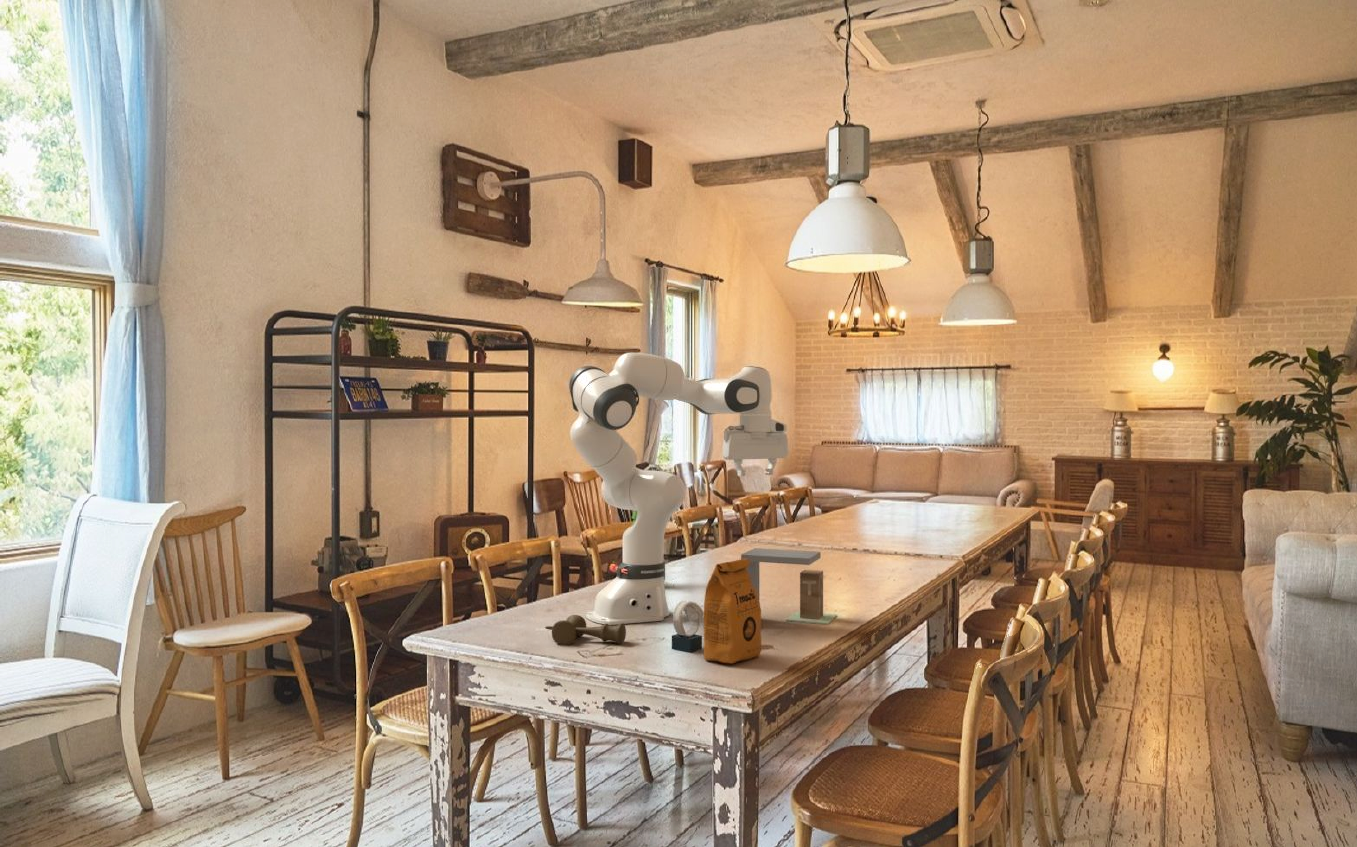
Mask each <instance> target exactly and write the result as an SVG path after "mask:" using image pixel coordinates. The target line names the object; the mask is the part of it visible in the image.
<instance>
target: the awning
mask: <svg viewBox="0 0 1357 847" xmlns="http://www.w3.org/2000/svg"><path fill="white" fill-rule="evenodd" d="M745 558H748V560H749V562H750V565H749V566H748V567H746V570H747V571H748V574H749V577H750V581H751V583H752V585H753V586H754V588H755V590H756V593H757V596H758V598H759V599H760V563H769V564H771V563H772V564H786V565H787V564H788V565H803V566H804V565H805V566H810V565H811V564H813V563H815V562H817V561H818V560H819V559H821V551H817V550H816V551H814V550H797V549H796V550H795V549H782V548H781V549H778V548H776V549H775V548H760V547H754V548H752V549H750V550H748V551H745V552H744V553H741V554H740V559H745Z"/></svg>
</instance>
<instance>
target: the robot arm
mask: <svg viewBox="0 0 1357 847" xmlns="http://www.w3.org/2000/svg"><path fill="white" fill-rule="evenodd" d="M568 390H569V395H570V397H571V404H572V408H573V410H574V411H575V412H577V413H578V417H577V418H576V420H575V421H574V422H572V425H571V427H570V430H569V436H570V440H571V442H572V444H573V445H574V447H575V449H576V450H577V452H578V453H579V454H580V456H581V457H582V458H583V459H584V461H585V462H586V463H587V464H588V466H590V467H591V468H592V470H594V472H595V473H597V475H598V476H599V477H600V478H601V479H602V483H601V487H600V489H601V495H602V496H601V497H602V498H603V500H604V501H605V503H606V504H607V505H609V506H610V507H611V506H612V507H614V508H617V509H620V510H627V511H634V510H637V517H636V521H635V523H634V524H633V525H632V524H631V525H632V526H629V527H627V529H626V530H624V532H623V534H622V562H620V564H619V565H618V564H614V563H611V564H610V565H609V571H611V572H613V573H616V577H615V578H614V579H612V580H611V581H610V582H609V583H608V584H607V585H606V586H605V587H604V588H602V589H601V590H600V591H599V592H598V593H597V594H596V597H595V601H594V608H593V610H591V611H587V612H586V619H587V620H589V621H591V622H594V623H597V624H599V625H601V624H602V625H604V624H609V625H611V626H616V625H619V624H621V623H624V625H626V624H635V623H636V624H637V623H648V622H660V621H664V619H665V618H666V617H668V616H669V615H671V613H670V609H669V607H668V602H667V595H666V590H665V589H666V588H665V580H666V562H665V560H664V546H665V544H664V543H665V533H666V529H667V526H668V524H669V521H670V519H671V517H672V516H673V514H674V513H675V512H677V510H679V509H680V507H681V506H682V505H683V503H684V501H685V499H686V495H687V493H686V486H685V482H684V481H683V479H682V478H681V477H680V476H679V475H677V474H674V473H670V472H667V471H663V470H648V469H640V468H639V467H636V466H637V462H638V460H637V459H638V458H637V452H636V451H635V450H634V448H633V447H632V446H631V445H630V444H629V443H628V441H626V440H625V439H624V437H623V436H622V435H621V434H620V433H619V432H618V430H621V429H623V428H624V427H626V426H627V425H628V424H629V423H630V422H631V420H632V419H633V418H634V416H635V413H636V412H637V406H638V405H639V404H640V403H639V402H640V397H643V398H646V399H647V398H648V399H649V400H650V399H651V400H657V401H674V400H677V401H680V402H684V403H687V404H689V405H691V406H692V407H693V408H695V409H696V410H697V411H698V412H700V413H701V414H704V415H708V416H709V415H717V414H723V415H724V414H725V415H726V414H729V415H730V414H739V425H729V426H727V427H726V428H725V429H724V432H723V443H722V451H721V452H722V458H723V459H724V460H729V461H731V460H732V461H733V465H734V467H735V468H736V470H737V471H736V472H737V476H738V477H745V476H746V469H744V468H743V466H742V464H743V460H768V461H767V462H768V463H769V464H768V466H767V468H764V470H765V476H773V475H774V469H775V466H776V464H777V463H778V462H777V461H778V460H777V459H786V458H787V457H788V455H789V439H788V436H787V434H786V433H785V432H787V430H788V428H787V424H785V423H783V422H781V421H778V420H775V419H773V418H772V415H773V414H772V411H771V403H772V398H773V396H772V392H773V390H772V380H771V375H770V372H769V371H768V370H767V369H766V368H764V367H761V366H753V365H752V366H750V365H749V366H743V367H742V369H741V370H740V371H739V372H738V373H736V374H734V375H732V376H730V377H728V378H727V377H726V378H703V379H700V380H693V379H689V378H686V376H685V372H684V369H683V367H682V366H681V364H679V363H678V362H677V361H674V360H672V359H670V358H667V357H664V356H660V355H656V354H652V353H643V352H626V353H624V354H622V355H620V356H619V357H618V359H617V360H616V361H615V363H614V367H613V369H612V371H611V372H609V373H606V372H605V370H603V369H601V368H599V367H597V366H593V365H586V366H582V367H579V368H577V370H575V371H574V372H573V373H572V375H571V377H570V378H569V384H568Z"/></svg>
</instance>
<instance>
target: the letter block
mask: <svg viewBox="0 0 1357 847" xmlns="http://www.w3.org/2000/svg"><path fill="white" fill-rule="evenodd" d="M799 600H800V601H799V611H800V618H805V619H817V620H819V619H820V618H821V617H822V616H823V613H824V570H820V569H819V570H818V569H817V570H816V569H804V570H802V571H800V572H799Z"/></svg>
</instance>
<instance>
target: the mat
mask: <svg viewBox="0 0 1357 847" xmlns="http://www.w3.org/2000/svg"><path fill="white" fill-rule="evenodd" d="M837 616H838V614H837V613H825V612H823V616H822V617H821V618H820V619H819V620H817V619H805V618H800V610H797V611H795V612H794V613H793V614H791V615H790V616H789V617H787V618H786V620H785V621H786V622H794V623H802V624H803V623H805V624H817V625H829V624H830V623H831V622H833V620H834V619H835V618H836V617H837Z"/></svg>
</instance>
